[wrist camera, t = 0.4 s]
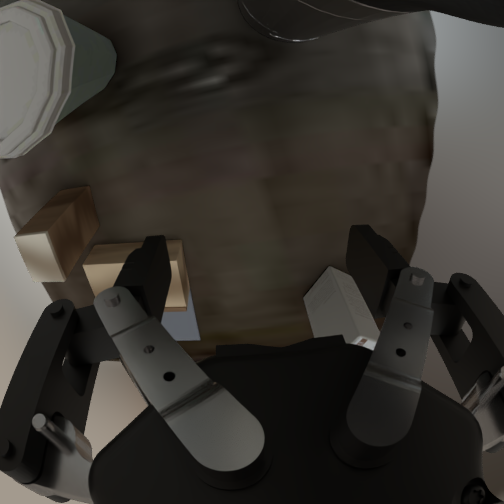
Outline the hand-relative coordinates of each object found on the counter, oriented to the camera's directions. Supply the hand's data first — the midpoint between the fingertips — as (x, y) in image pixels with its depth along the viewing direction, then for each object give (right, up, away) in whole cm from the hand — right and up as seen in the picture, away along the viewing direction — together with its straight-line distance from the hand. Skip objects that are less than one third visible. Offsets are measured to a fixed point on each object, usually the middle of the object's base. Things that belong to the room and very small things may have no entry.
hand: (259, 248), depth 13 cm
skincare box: (+9, -4, +26) cm, 28 cm away
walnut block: (-20, +5, +17) cm, 26 cm away
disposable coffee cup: (-16, +18, +8) cm, 25 cm away
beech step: (-14, -2, +22) cm, 26 cm away
